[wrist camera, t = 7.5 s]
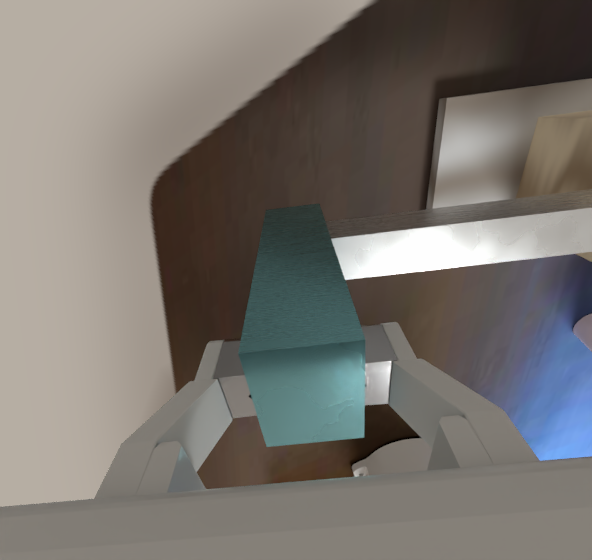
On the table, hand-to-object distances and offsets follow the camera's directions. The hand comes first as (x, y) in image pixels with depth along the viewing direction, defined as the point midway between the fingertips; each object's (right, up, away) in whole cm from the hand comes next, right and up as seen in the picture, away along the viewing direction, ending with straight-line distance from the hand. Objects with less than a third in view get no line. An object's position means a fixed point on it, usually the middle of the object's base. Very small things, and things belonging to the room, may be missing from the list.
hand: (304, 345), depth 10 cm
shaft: (+12, +6, +7) cm, 15 cm away
